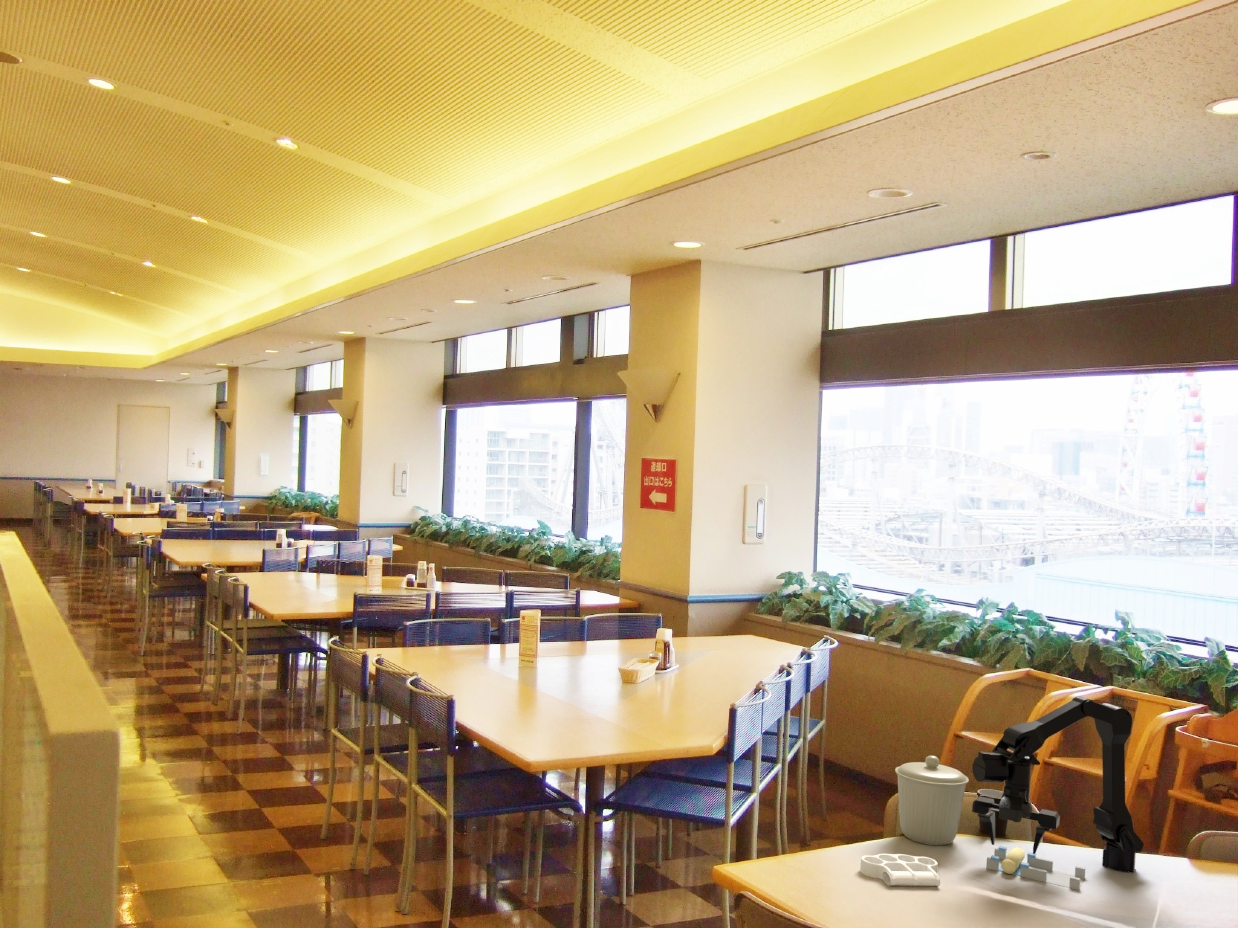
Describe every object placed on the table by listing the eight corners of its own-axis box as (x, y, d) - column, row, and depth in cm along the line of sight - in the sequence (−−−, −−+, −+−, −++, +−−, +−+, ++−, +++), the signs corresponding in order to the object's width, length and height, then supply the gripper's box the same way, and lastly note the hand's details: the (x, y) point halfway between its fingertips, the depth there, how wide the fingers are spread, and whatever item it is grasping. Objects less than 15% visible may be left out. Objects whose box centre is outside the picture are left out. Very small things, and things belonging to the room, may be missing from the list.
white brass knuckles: (876, 889, 227) (851, 865, 242) (953, 890, 230) (924, 866, 244) (877, 873, 227) (852, 850, 242) (954, 874, 230) (925, 851, 245)
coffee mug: (1012, 838, 269) (1014, 800, 270) (977, 834, 271) (979, 795, 272) (1005, 825, 281) (1007, 788, 281) (971, 821, 283) (973, 784, 283)
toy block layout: (1084, 881, 240) (1085, 864, 241) (1078, 894, 232) (1079, 877, 232) (995, 860, 251) (996, 844, 251) (985, 872, 242) (986, 855, 242)
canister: (980, 846, 262) (985, 762, 262) (931, 854, 252) (936, 767, 253) (924, 824, 277) (929, 744, 278) (876, 831, 267) (881, 749, 268)
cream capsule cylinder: (1010, 859, 249) (1010, 845, 250) (1024, 862, 248) (1024, 848, 248) (999, 873, 239) (1000, 859, 239) (1014, 876, 237) (1014, 862, 237)
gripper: (968, 780, 243) (964, 848, 242) (1054, 797, 233) (1050, 867, 232) (979, 771, 252) (975, 836, 251) (1061, 787, 242) (1058, 855, 242)
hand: (1013, 848), depth 244 cm, fingers open, 9 cm apart
